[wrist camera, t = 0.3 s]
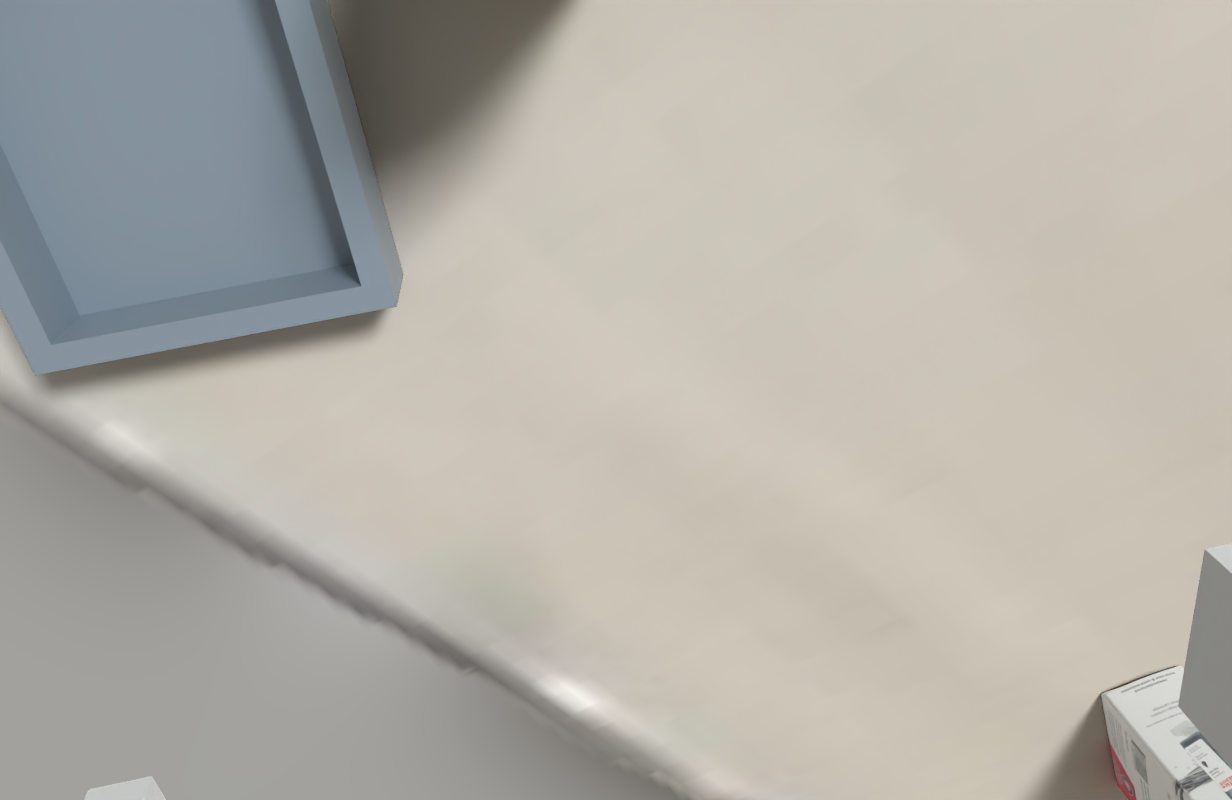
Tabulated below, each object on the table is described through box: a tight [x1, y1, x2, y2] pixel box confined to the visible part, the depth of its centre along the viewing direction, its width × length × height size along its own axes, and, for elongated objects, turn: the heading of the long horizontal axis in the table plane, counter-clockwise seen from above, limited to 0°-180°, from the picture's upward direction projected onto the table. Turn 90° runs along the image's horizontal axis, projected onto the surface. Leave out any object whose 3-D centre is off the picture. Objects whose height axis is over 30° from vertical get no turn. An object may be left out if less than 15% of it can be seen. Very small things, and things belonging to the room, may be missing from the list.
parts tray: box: [0, 0, 403, 375], centre depth 32 cm, size 16×13×3 cm
